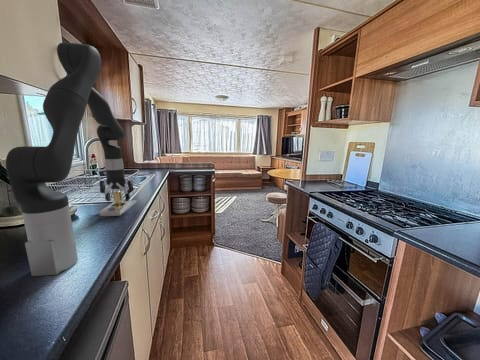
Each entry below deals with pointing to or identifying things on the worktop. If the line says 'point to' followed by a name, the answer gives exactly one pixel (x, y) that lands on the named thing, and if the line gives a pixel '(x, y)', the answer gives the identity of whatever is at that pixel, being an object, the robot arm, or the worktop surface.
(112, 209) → the grey flat block
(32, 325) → the worktop surface
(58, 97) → the robot arm
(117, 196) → the pin
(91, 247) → the worktop surface
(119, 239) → the worktop surface
